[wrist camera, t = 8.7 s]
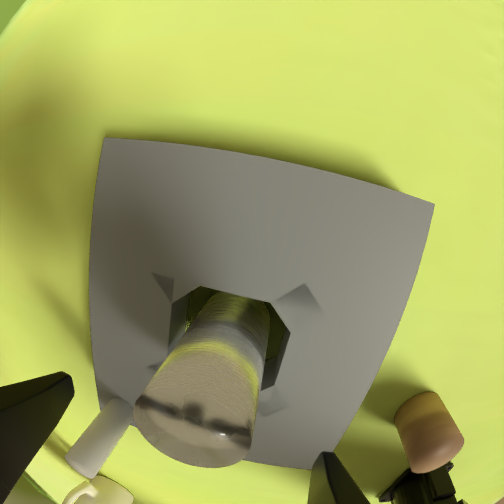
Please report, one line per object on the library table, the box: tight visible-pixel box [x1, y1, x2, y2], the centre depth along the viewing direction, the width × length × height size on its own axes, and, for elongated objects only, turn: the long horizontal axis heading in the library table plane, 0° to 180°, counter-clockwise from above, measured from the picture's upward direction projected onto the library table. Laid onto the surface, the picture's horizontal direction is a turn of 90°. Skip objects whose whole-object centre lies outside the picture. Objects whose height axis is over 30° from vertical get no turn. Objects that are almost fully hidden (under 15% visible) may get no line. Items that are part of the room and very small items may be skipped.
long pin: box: [133, 291, 270, 468], centre depth 12 cm, size 4×4×9 cm
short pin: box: [394, 392, 464, 473], centre depth 14 cm, size 4×4×5 cm
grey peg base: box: [65, 137, 435, 479], centre depth 12 cm, size 18×16×9 cm
